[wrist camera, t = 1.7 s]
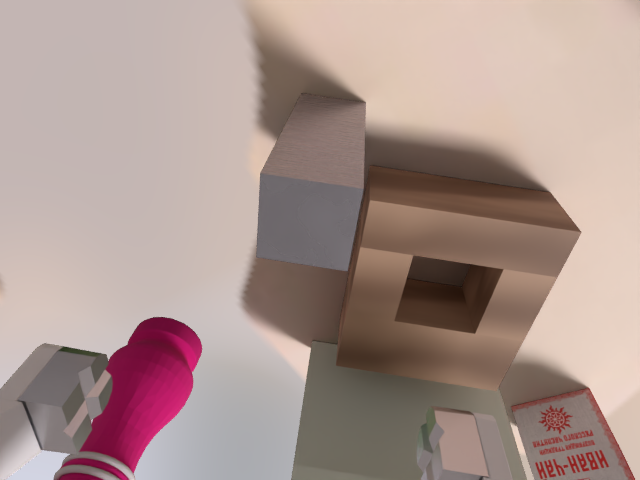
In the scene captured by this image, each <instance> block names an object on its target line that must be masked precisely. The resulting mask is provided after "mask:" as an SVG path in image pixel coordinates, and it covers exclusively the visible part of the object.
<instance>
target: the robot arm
mask: <svg viewBox="0 0 640 480" xmlns="http://www.w3.org/2000/svg"><path fill="white" fill-rule="evenodd" d="M108 364H109V362H108V358H107V355H106V354H101V353H95V352H90V351H85V350H80V349H75V348H69V347H64V346H58V345H52V344H46V343H44V344H42V345H40V346H39V347H37V348H36V349H35V350H34V351H33V352H32V354H31V355H30V356H29V357H28V358H27V359H26V361H25V362H24V363H23V364H22V365H21V366H20V367H19V368H18V370H17V371H16V372H15V373H14V374H13V375H12V377H10V379H9V380H8V381H7V382H6V384H4V385H3V387H2V388H1V389H0V480H5V479H7V478H8V477H9V476H11V475H12V474H13V473H15V472H16V471H17V470H19V469H20V468H21V467H23V466H24V465H25V464H26V463H28V462H29V461H30V460H32V459H33V458H34V457H36V456H37V455H38V454H40V453H41V450H47V451H54V452H61V453H68V454H76V455H77V454H78V452H79V451H80V449H81V447H82V446H83V444H84V442H85V441H86V439H87V437H88V436H89V434H90V432H91V431H92V424H91V420H92V419H94V418H95V417H97V416H98V415H100V414H101V413H102V412H103V411H104V409H105V407H106V405H107V404H108V401H109V398H110V395H111V392H112V384H113V382H112V376H111V375H110V374H109V373H108V372H107V371H106V370H105V369H106V367H107V366H108ZM426 421H427V423H425V424H423V425H421V428H420V430H419V433H418V439H417V465H418V466H419V467H420V469H421V470H422V472H423V475H422V478H421V480H513V478H512V475H511V472H510V468H509V465H508V461H507V458H506V454H505V451H504V447H503V444H502V440H501V437H500V433H499V430H498V426H497V423H496V420H495V418H494V417H493V416H492V415H487V414H480V413H474V412H470V411H464V410H457V409H450V408H443V407H437V406H430V407H429V408H428V411H427V413H426Z"/></svg>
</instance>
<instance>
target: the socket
mask: <svg viewBox="0 0 640 480" xmlns="http://www.w3.org/2000/svg"><path fill="white" fill-rule="evenodd" d="M580 234H581V231H580V230H579V228H578V227H577V226H576V225H575V223H574V222H573V221H572V219H571V218H570V217H569V216H568V214H567V213H566V212H565V210H564V209H563V208H562V207H561V205H560V204H559V203H558V202H557V200H556V199H555V198H554V196H553V195H552V194H551V193H550V192H544V191H537V190H530V189H524V188H517V187H510V186H504V185H497V184H491V183H484V182H477V181H471V180H464V179H457V178H451V177H444V176H438V175H431V174H424V173H418V172H411V171H404V170H398V169H391V168H385V167H378V166H371V165H370V168H369V173H368V178H367V184H366V189H365V194H364V199H363V204H362V209H361V214H360V219H359V224H358V229H357V234H356V239H355V244H354V249H353V255H352V260H351V265H350V270H349V275H348V280H347V285H346V290H345V295H344V300H343V305H342V310H341V315H340V322H339V334H338V346H337V358H336V366H340V367H347V368H353V369H359V370H366V371H372V372H378V373H385V374H391V375H397V376H404V377H410V378H416V379H422V380H429V381H435V382H441V383H448V384H454V385H460V386H467V387H473V388H479V389H486V390H492V391H497V389H498V387H499V386H500V384H501V382H502V380H503V378H504V376H505V374H506V373H507V371H508V369H509V367H510V365H511V363H512V361H513V359H514V358H515V356H516V354H517V352H518V350H519V348H520V346H521V344H522V343H523V341H524V339H525V337H526V335H527V333H528V331H529V330H530V328H531V326H532V324H533V322H534V320H535V318H536V316H537V315H538V313H539V311H540V309H541V307H542V305H543V303H544V301H545V300H546V298H547V296H548V294H549V292H550V290H551V288H552V287H553V285H554V283H555V281H556V279H557V277H558V275H559V273H560V272H561V270H562V268H563V266H564V264H565V262H566V260H567V258H568V257H569V255H570V253H571V251H572V249H573V247H574V245H575V244H576V242H577V240H578V238H579V236H580ZM413 255H415V256H421V257H428V258H434V259H441V260H447V261H454V262H460V263H466V264H471V265H470V268H469V270H468V273H467V275H466V278H465V280H464V283H463V286H462V287H458V286H451V285H445V284H438V283H432V282H425V281H419V280H412V279H407V276H408V272H409V269H410V265H411V262H412V259H413Z"/></svg>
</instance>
